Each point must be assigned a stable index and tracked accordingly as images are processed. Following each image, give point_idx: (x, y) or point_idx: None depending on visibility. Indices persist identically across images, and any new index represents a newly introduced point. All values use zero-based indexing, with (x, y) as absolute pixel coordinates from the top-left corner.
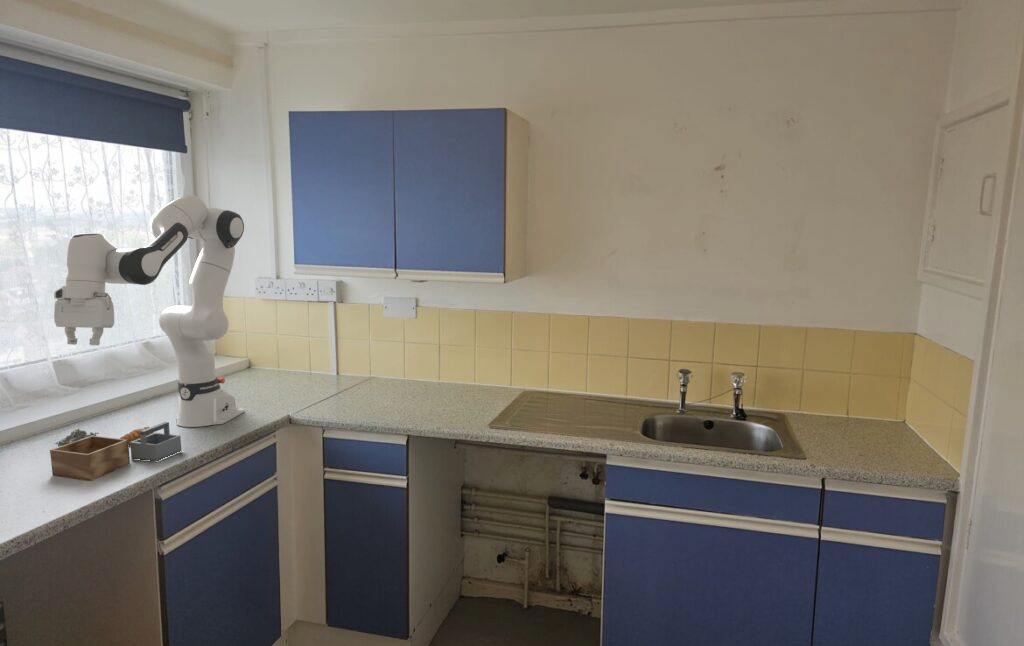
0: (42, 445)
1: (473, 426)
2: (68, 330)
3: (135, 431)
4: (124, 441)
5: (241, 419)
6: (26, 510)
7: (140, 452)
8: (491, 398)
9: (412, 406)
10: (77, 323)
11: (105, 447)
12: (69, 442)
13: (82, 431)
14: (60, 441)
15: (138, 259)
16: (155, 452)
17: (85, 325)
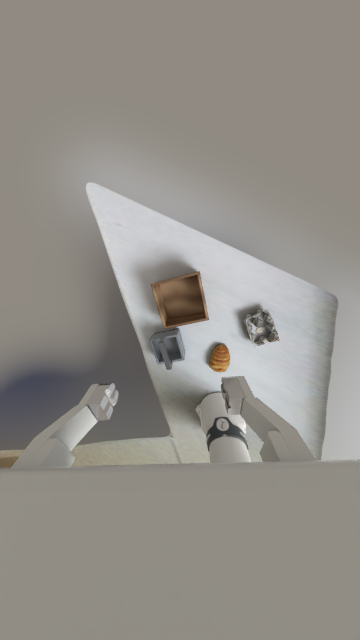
0: (293, 310)
1: None
2: (269, 438)
3: (220, 360)
4: (163, 325)
5: (193, 419)
6: (132, 216)
7: (168, 333)
8: None
9: None
10: (141, 501)
11: (159, 305)
12: (251, 316)
13: (273, 340)
14: (268, 316)
15: None
16: (152, 336)
17: (58, 480)
